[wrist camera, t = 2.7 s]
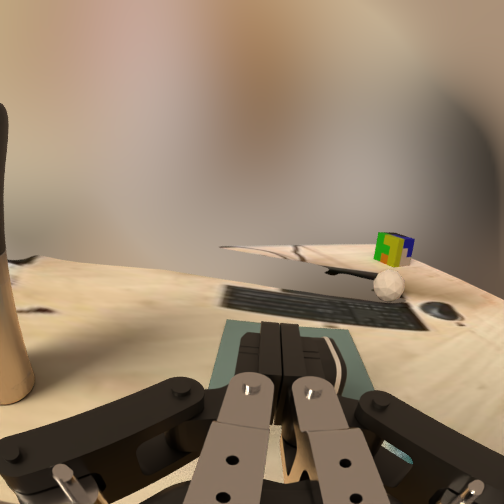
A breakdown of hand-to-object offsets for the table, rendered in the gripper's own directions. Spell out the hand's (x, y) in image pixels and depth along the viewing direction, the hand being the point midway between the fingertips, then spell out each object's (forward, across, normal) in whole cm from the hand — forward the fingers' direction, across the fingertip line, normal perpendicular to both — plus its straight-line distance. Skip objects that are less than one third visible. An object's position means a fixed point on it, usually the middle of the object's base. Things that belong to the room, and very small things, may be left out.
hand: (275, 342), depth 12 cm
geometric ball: (+54, -30, +20) cm, 65 cm away
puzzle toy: (+91, -47, +19) cm, 104 cm away
